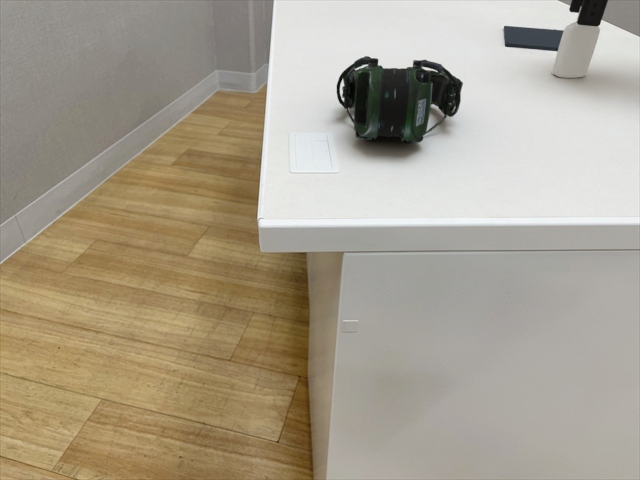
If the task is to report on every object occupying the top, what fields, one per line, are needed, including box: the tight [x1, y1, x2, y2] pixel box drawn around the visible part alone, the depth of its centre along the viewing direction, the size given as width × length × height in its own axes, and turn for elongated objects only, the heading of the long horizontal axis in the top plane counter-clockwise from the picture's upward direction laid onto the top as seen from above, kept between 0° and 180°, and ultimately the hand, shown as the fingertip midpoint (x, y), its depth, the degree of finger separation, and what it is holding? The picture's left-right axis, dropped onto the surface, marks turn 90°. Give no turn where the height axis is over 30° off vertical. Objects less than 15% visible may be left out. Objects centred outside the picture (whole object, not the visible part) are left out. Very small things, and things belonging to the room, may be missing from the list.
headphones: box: [336, 55, 464, 144], centre depth 64 cm, size 13×13×20 cm
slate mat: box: [503, 25, 564, 52], centre depth 105 cm, size 14×16×1 cm
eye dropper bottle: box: [551, 6, 601, 79], centre depth 82 cm, size 4×6×12 cm
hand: (583, 18), depth 81 cm, fingers open, 9 cm apart
